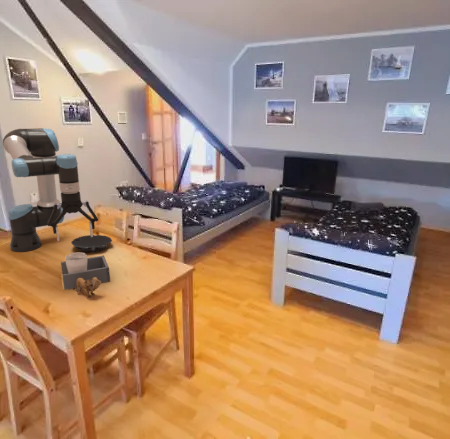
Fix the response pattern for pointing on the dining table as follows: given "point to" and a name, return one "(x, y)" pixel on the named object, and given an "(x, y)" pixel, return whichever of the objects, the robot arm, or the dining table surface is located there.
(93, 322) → the dining table surface
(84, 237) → the board
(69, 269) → the cup
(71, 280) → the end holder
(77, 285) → the lion figurine
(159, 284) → the dining table surface
